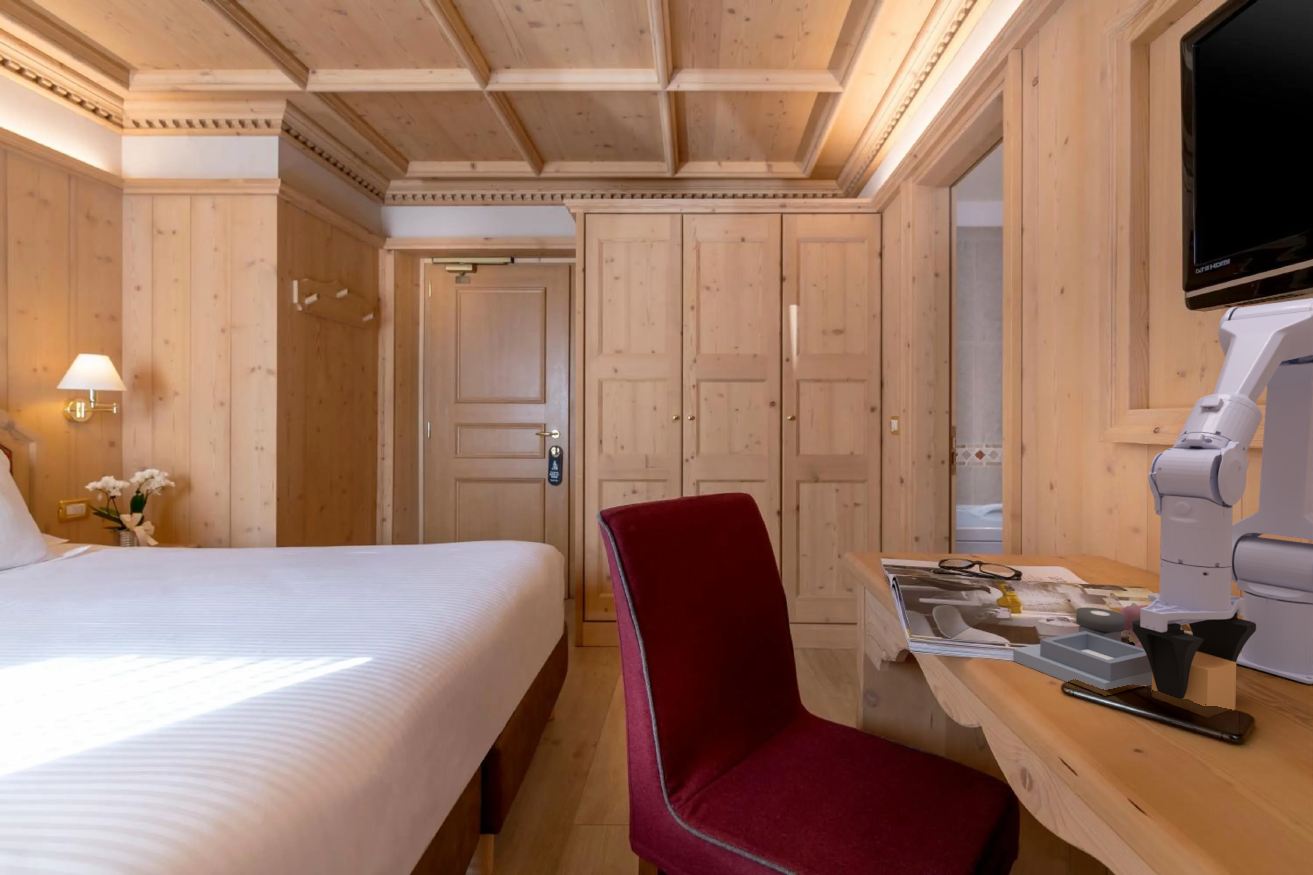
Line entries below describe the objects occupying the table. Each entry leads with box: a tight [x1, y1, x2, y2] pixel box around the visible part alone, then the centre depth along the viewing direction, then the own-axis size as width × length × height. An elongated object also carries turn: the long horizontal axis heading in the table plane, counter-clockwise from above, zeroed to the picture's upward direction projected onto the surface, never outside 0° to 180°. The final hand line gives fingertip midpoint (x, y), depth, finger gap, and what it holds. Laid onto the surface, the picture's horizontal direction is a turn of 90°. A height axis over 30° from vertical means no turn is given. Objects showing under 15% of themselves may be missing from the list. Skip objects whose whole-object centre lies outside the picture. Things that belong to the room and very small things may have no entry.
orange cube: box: [1151, 651, 1237, 711], centre depth 66 cm, size 5×5×5 cm
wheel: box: [1075, 606, 1125, 632], centre depth 79 cm, size 5×5×4 cm
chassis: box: [1012, 625, 1152, 690], centre depth 75 cm, size 14×11×4 cm
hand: (1192, 689), depth 66 cm, fingers open, 7 cm apart
